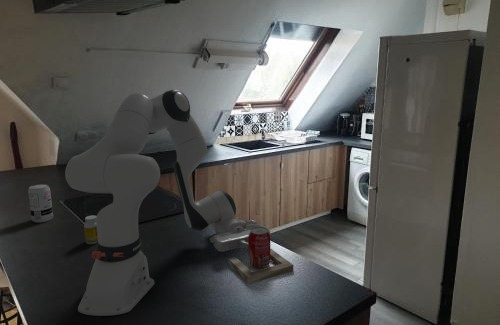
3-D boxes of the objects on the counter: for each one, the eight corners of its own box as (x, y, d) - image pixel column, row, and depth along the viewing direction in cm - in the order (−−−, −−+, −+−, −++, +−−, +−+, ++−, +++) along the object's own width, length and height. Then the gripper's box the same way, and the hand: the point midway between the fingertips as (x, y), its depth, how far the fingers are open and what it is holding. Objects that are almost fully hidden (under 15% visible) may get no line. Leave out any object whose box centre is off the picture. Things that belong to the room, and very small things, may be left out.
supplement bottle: (88, 238, 142) (86, 214, 140) (103, 238, 142) (100, 214, 140) (83, 244, 137) (80, 219, 135) (98, 244, 137) (95, 219, 135)
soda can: (255, 258, 125) (255, 224, 123) (273, 262, 122) (274, 228, 120) (244, 266, 119) (244, 231, 117) (263, 272, 116) (264, 236, 114)
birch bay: (293, 270, 117) (293, 264, 116) (248, 283, 109) (248, 277, 109) (270, 253, 129) (270, 248, 128) (228, 264, 121) (228, 258, 121)
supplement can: (32, 218, 163) (27, 185, 160) (53, 215, 167) (49, 183, 164) (31, 224, 156) (26, 190, 153) (53, 221, 160) (49, 187, 157)
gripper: (207, 229, 129) (224, 244, 117) (258, 219, 138) (278, 232, 126) (207, 246, 130) (224, 263, 118) (258, 235, 140) (278, 249, 128)
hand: (253, 246), depth 122 cm, fingers closed, pressing on soda can
